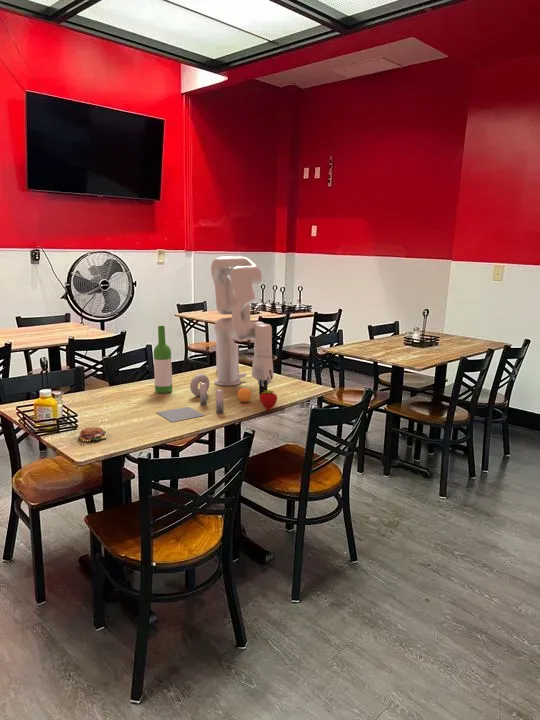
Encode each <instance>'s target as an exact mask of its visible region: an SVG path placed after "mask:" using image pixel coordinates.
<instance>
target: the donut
mask: <svg viewBox="0 0 540 720" xmlns="http://www.w3.org/2000/svg"><path fill="white" fill-rule="evenodd" d="M200 383H207V392H208V391H209V388H210V380H209V377H207V375H206V374H204V373H198V374H196V375H194V376H193V377H192V379H191V381H190V385H189V387H190V392H191V393H192V394H193V396H195V397H200V387H199V385H200Z"/></svg>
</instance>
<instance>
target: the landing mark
mask: <svg viewBox="0 0 540 720" xmlns="http://www.w3.org/2000/svg"><path fill="white" fill-rule="evenodd" d="M156 414H158V415H159V416H161V417H162V418H164V419H166V420H167V421H169V422H171V423H175V422H180V421H185V420H191V419H195V418H200V417H205V416H206V415H205V414H204V413H201V412H200V411H197V410H195V409H194V408H192V407H190V406H186V407H185V406H183V407H179V408H175V409H174V408H173V409H169V410H162V411H157V412H156Z"/></svg>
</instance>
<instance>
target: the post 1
mask: <svg viewBox="0 0 540 720" xmlns="http://www.w3.org/2000/svg"><path fill="white" fill-rule="evenodd" d="M199 389H200V396H199V398H200V399H199V403H200V406H207V405H208V391H207V383H202V382H199Z"/></svg>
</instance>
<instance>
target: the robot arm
mask: <svg viewBox="0 0 540 720" xmlns="http://www.w3.org/2000/svg"><path fill="white" fill-rule="evenodd" d="M210 272H211V277H212V280H213V284H214V291H215V292H214V293H215V305H216V311H217V313H218V314H219V315H223V316H225V315H226V316H227V315H228V317H222V318H220V319H217V320H216V321H215V323H214V331H215V338H216V344H217V362H218V372H217V378H215V379H214V384H215V385H217V386H225V387H228V386H229V387H231V386H237V385H240V384H241V378H246V376H247V374H246V373H245V372H243V373H240V372H238V373H237V345H236V344H237V343H236V342H235V340H234V339H233V338H237V339H238V340H240V341H247V340H253V341H254V342H253V349H254V350H253V352H254V354H253V357H252V366H251V377H253V378H254V379H255V380H257V384H258V393H259V395H260V394H261V393H263V392H265V391H267V390H268V386H269V384H271V383H272V380H273V379H274V364H273V363H274V362H273V357H272V356H273V349H272V348H273V346H272V344H273V339H272V338H273V328H272V325H271V324H270V323H264V322H262V321H258V320H257V321H251V307H250V304H252V303H253V302H254V301H255V300H256V295H255V291H254V287H253V285H259V284H260V283H261V281H262V279H263V278H262V277H263V275H262V272H261V270H260V268H259V266H258V265H257V264H256V263H254V262H253V261H252V260H251V259H250V258H248V257H246V256H218V257H216V258H214V259H213V260H212V262H211V266H210ZM229 315H230V316H231V317H229ZM263 390H264V391H263Z"/></svg>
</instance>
